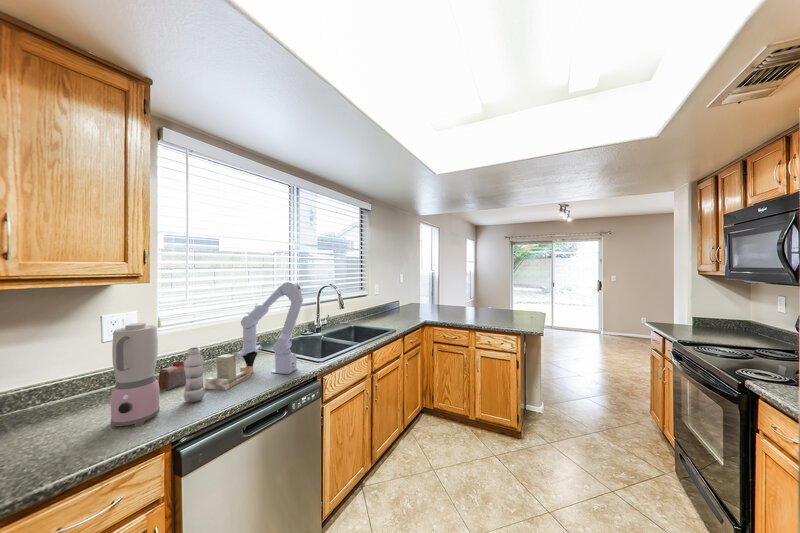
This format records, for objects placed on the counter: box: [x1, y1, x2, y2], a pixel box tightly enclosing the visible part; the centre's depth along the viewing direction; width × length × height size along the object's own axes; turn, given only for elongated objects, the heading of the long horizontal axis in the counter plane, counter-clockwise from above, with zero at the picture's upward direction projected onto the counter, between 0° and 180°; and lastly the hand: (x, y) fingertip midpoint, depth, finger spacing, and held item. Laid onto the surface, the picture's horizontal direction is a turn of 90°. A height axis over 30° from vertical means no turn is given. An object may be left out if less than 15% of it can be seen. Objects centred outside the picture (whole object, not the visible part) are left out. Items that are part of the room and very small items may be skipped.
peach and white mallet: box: [236, 365, 254, 379], centre depth 137 cm, size 5×11×4 cm, turn 168°
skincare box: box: [216, 353, 237, 383], centre depth 129 cm, size 6×4×12 cm
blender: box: [110, 322, 161, 430], centre depth 97 cm, size 16×12×32 cm
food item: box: [158, 360, 186, 391], centre depth 129 cm, size 14×8×10 cm, turn 163°
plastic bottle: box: [183, 346, 205, 404], centre depth 112 cm, size 6×7×20 cm
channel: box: [204, 373, 252, 391], centre depth 131 cm, size 10×15×4 cm, turn 168°
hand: (249, 367), depth 143 cm, fingers closed
